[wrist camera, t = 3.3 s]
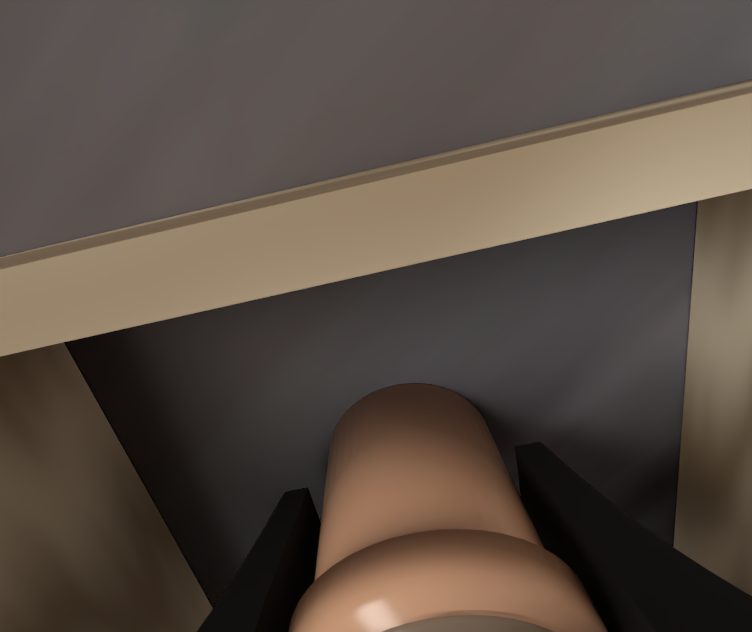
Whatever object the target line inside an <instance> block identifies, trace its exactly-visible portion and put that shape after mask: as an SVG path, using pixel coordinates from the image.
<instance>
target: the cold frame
mask: <svg viewBox="0 0 752 632" xmlns="http://www.w3.org/2000/svg"><path fill="white" fill-rule="evenodd" d="M695 201H698V208H697V222H696V236H695V250H694V264H693V278H692V292H691V306H690V320H689V335H688V349H687V363H686V377H685V391H684V405H683V419H682V433H681V447H680V461H679V475H678V489H677V503H676V517H675V531H674V545H673V547H674V548H675V549H677V550H678V551H680V552H681V553H683V554H684V555H686V556H687V557H689V558H691V559H692V560H694V561H695V562H697V563H698V564H700V565H702V566H703V567H705V568H706V569H708V570H709V571H711V572H713V573H714V574H716V575H717V576H719V577H721V578H722V579H724V580H726V581H727V582H729V583H731V584H732V585H734V586H736V587H737V588H739V589H741V590H742V591H744V592H745V593H747V594H749V595H751V596H752V80H748V81H744V82H739V83H735V84H731V85H727V86H723V87H718V88H714V89H710V90H706V91H701V92H697V93H693V94H689V95H685V96H680V97H676V98H672V99H668V100H663V101H659V102H655V103H651V104H646V105H642V106H638V107H634V108H630V109H625V110H621V111H617V112H613V113H608V114H604V115H600V116H596V117H591V118H587V119H583V120H579V121H575V122H570V123H566V124H562V125H558V126H553V127H549V128H545V129H541V130H537V131H532V132H528V133H524V134H520V135H515V136H511V137H507V138H503V139H498V140H494V141H490V142H486V143H482V144H477V145H473V146H469V147H465V148H460V149H456V150H452V151H448V152H443V153H439V154H435V155H431V156H427V157H422V158H418V159H414V160H410V161H405V162H401V163H397V164H393V165H389V166H384V167H380V168H376V169H372V170H367V171H363V172H359V173H355V174H350V175H346V176H342V177H338V178H334V179H329V180H325V181H321V182H317V183H312V184H308V185H304V186H300V187H295V188H291V189H287V190H283V191H279V192H274V193H270V194H266V195H262V196H257V197H253V198H249V199H245V200H241V201H236V202H232V203H228V204H224V205H219V206H215V207H211V208H207V209H202V210H198V211H194V212H190V213H186V214H181V215H177V216H173V217H169V218H164V219H160V220H156V221H152V222H147V223H143V224H139V225H135V226H131V227H126V228H122V229H118V230H114V231H109V232H105V233H101V234H97V235H93V236H88V237H84V238H80V239H76V240H71V241H67V242H63V243H59V244H54V245H50V246H46V247H42V248H38V249H33V250H29V251H25V252H21V253H16V254H12V255H8V256H4V257H0V632H197V630H198V629H199V628H200V626H201V625H202V623H203V622H204V621H205V619H206V618H207V616H208V615H209V614H210V612H211V611H212V609H213V608H212V606H211V604H210V602H209V601H208V599H207V597H206V595H205V593H204V592H203V590H202V588H201V586H200V584H199V583H198V581H197V579H196V577H195V576H194V574H193V572H192V570H191V568H190V567H189V565H188V563H187V561H186V559H185V558H184V556H183V554H182V552H181V551H180V549H179V547H178V545H177V543H176V542H175V540H174V538H173V536H172V534H171V533H170V531H169V529H168V527H167V526H166V524H165V522H164V520H163V518H162V517H161V515H160V513H159V511H158V510H157V508H156V506H155V504H154V502H153V501H152V499H151V497H150V495H149V493H148V492H147V490H146V488H145V486H144V485H143V483H142V481H141V479H140V477H139V476H138V474H137V472H136V470H135V468H134V467H133V465H132V463H131V461H130V460H129V458H128V456H127V454H126V452H125V451H124V449H123V447H122V445H121V443H120V442H119V440H118V438H117V436H116V435H115V433H114V431H113V429H112V427H111V426H110V424H109V422H108V420H107V418H106V417H105V415H104V413H103V411H102V410H101V408H100V406H99V404H98V402H97V401H96V399H95V397H94V395H93V393H92V392H91V390H90V388H89V386H88V385H87V383H86V381H85V379H84V377H83V376H82V374H81V372H80V370H79V368H78V367H77V365H76V363H75V361H74V360H73V358H72V356H71V354H70V352H69V351H68V349H67V347H66V345H65V343H64V342H67V341H72V340H76V339H81V338H85V337H90V336H94V335H99V334H103V333H108V332H112V331H117V330H121V329H126V328H130V327H135V326H139V325H144V324H148V323H152V322H157V321H161V320H166V319H170V318H175V317H179V316H184V315H188V314H193V313H197V312H202V311H206V310H211V309H215V308H220V307H224V306H229V305H233V304H238V303H242V302H247V301H251V300H256V299H260V298H265V297H269V296H273V295H278V294H282V293H287V292H291V291H296V290H300V289H305V288H309V287H314V286H318V285H323V284H327V283H332V282H336V281H341V280H345V279H350V278H354V277H359V276H363V275H368V274H372V273H377V272H381V271H385V270H390V269H394V268H399V267H403V266H408V265H412V264H417V263H421V262H426V261H430V260H435V259H439V258H444V257H448V256H453V255H457V254H462V253H466V252H471V251H475V250H480V249H484V248H489V247H493V246H498V245H502V244H506V243H511V242H515V241H520V240H524V239H529V238H533V237H538V236H542V235H547V234H551V233H556V232H560V231H565V230H569V229H574V228H578V227H583V226H587V225H592V224H596V223H601V222H605V221H610V220H614V219H618V218H623V217H627V216H632V215H636V214H641V213H645V212H650V211H654V210H659V209H663V208H668V207H672V206H677V205H681V204H686V203H690V202H695Z"/></svg>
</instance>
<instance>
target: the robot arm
mask: <svg viewBox="0 0 752 632" xmlns="http://www.w3.org/2000/svg"><path fill="white" fill-rule="evenodd" d="M515 449H516V458H517V466H518V475H519V484H520V492H521V499H522V502H523V504H524V506H525V508H526V510H527V512H528V514H529V517H530V519H531V521H532V523H533V525H534V527H535V529H536V532H537V534H538V536H539V538H540V540H541V542H542V544H543V547H544V549H546V550H547V551H549V552H551V553H553V554H554V555H556V556H557V557H558V558H560V559H561V560H562V561H563V562H565V563H566V564H567V565H568V566H569V567H570V568H571V569H572V570H573V571H574V572H575V573H576V574H577V576H578V577H579V578H580V580H581V582H582V583H583V585H584V586H585V588H586V590H587V592H588V594H589V596H590V598H591V600H592V601H593V603H594V605H595V607H596V609H597V611H598V613H599V615H600V617H601V619H602V621H603V623H604V625H605V626H606V628H607V630H608V632H752V596H751V595H749V594H747V593H745V592H744V591H742V590H741V589H739V588H737V587H736V586H734V585H732V584H731V583H729V582H727V581H726V580H724V579H722V578H721V577H719V576H717V575H716V574H714V573H713V572H711V571H709V570H708V569H706V568H705V567H703V566H702V565H700V564H698V563H697V562H695V561H694V560H692V559H691V558H689V557H687V556H686V555H684V554H683V553H681V552H680V551H678V550H677V549H675V548H674V547H672V546H671V545H670V544H668V543H667V542H665V541H664V540H662V539H661V538H659V537H658V536H656V535H655V534H654V533H652V532H651V531H650V530H648V529H647V528H645V527H644V526H643V525H641V524H640V523H638V522H637V521H636V520H634V519H633V518H632V517H630V516H629V515H628V514H626V513H625V512H624V511H622V510H621V509H620V508H618V507H617V506H616V505H615V504H613V503H612V502H611V501H609V500H608V499H607V498H606V497H604V496H603V495H602V494H601V493H599V492H598V491H597V490H596V489H594V488H593V487H592V486H591V485H589V484H588V483H587V482H586V481H585V480H583V479H582V478H581V477H580V476H579V475H577V474H576V473H575V472H574V471H573V470H572V469H570V468H569V467H568V466H567V465H566V464H565V463H563V462H562V461H561V460H560V459H559V458H558V457H557V456H556V455H554V454H553V453H552V452H551V451H550V450H549V449H548V448H547V447H546V446H545V445H543V444H542V443H540V442H536V443H531V444H526V445H520V446H515ZM320 527H321V522H320V519H319V517H318V514H317V511H316V509H315V506H314V503H313V500H312V498H311V495H310V492H309V490H308V488H303V489H298V490H293V491H288V492H285V493H284V495H283V496H282V498H281V499H280V501H279V503H278V505H277V506H276V508H275V510H274V511H273V513H272V515H271V517H270V518H269V520H268V522H267V524H266V525H265V527H264V529H263V530H262V532H261V534H260V535H259V537H258V539H257V541H256V542H255V544H254V546H253V547H252V549H251V550H250V552H249V554H248V555H247V557H246V559H245V560H244V562H243V563H242V565H241V567H240V568H239V570H238V571H237V573H236V575H235V576H234V578H233V579H232V581H231V582H230V584H229V585H228V587H227V588H226V590H225V591H224V593H223V594H222V596H221V597H220V599H219V600H218V602H217V603H216V605H215V606H214V608H213V609H212V611H211V612H210V614H209V615H208V616H207V618H206V619H205V621H204V622H203V623H202V625H201V626H200V628H199V629H198V630H197V632H288V630H289V626H290V622H291V618H292V615H293V612H294V610H295V608H296V606H297V604H298V602H299V600H300V599H301V598H302V596H303V595H304V593H305V592H306V590H307V589H308V588H309V587H310V586H311V585H312V584H313V583H314V579H315V570H316V562H317V553H318V544H319V536H320Z"/></svg>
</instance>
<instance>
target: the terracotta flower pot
mask: <svg viewBox="0 0 752 632" xmlns="http://www.w3.org/2000/svg"><path fill="white" fill-rule="evenodd" d="M288 632H608V630H607V628H606V626H605V625H604V623H603V621H602V619H601V617H600V615H599V613H598V611H597V609H596V607H595V605H594V603H593V601H592V600H591V598H590V596H589V594H588V592H587V590H586V588H585V586H584V585H583V583H582V582H581V580H580V578H579V577H578V576H577V574H576V573H575V572H574V571H573V570H572V569H571V568H570V567H569V566H568V565H567V564H566V563H565V562H563V561H562V560H561V559H560V558H558V557H557V556H556V555H554V554H553V553H551V552H549V551H547V550H546V549H544V547H543V544H542V542H541V540H540V538H539V536H538V534H537V532H536V529H535V527H534V525H533V523H532V521H531V519H530V517H529V514H528V512H527V510H526V508H525V506H524V504H523V502H522V499H521V497H520V495H519V493H518V491H517V489H516V487H515V484H514V482H513V480H512V478H511V476H510V474H509V472H508V469H507V467H506V465H505V463H504V461H503V459H502V457H501V455H500V452H499V450H498V448H497V446H496V444H495V442H494V440H493V437H492V435H491V433H490V431H489V429H488V427H487V425H486V422H485V420H484V419H483V417H482V416H481V414H480V413H479V411H478V410H477V409H476V408H475V407H474V406H473V405H472V404H471V403H470V402H469V401H468V400H466V399H465V398H463V397H462V396H460V395H459V394H457V393H455V392H453V391H450V390H448V389H445V388H442V387H439V386H434V385H429V384H418V383H413V384H400V385H394V386H390V387H387V388H383V389H380V390H378V391H375V392H373V393H371V394H369V395H367V396H365V397H364V398H362V399H361V400H359V401H358V402H357V403H355V404H354V405H353V406H352V407H351V408H350V409H349V410H347V411H346V413H345V414H344V415H343V416H342V418H341V419H340V421H339V422H338V424H337V425H336V427H335V430H334V432H333V434H332V438H331V442H330V448H329V457H328V466H327V475H326V483H325V492H324V501H323V509H322V518H321V527H320V536H319V544H318V553H317V562H316V570H315V579H314V583H313V584H312V585H311V586H310V587H309V588H308V589H307V590H306V592H305V593H304V595H303V596H302V598H301V599H300V600H299V602H298V604H297V606H296V608H295V610H294V612H293V615H292V618H291V622H290V626H289V630H288Z"/></svg>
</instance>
